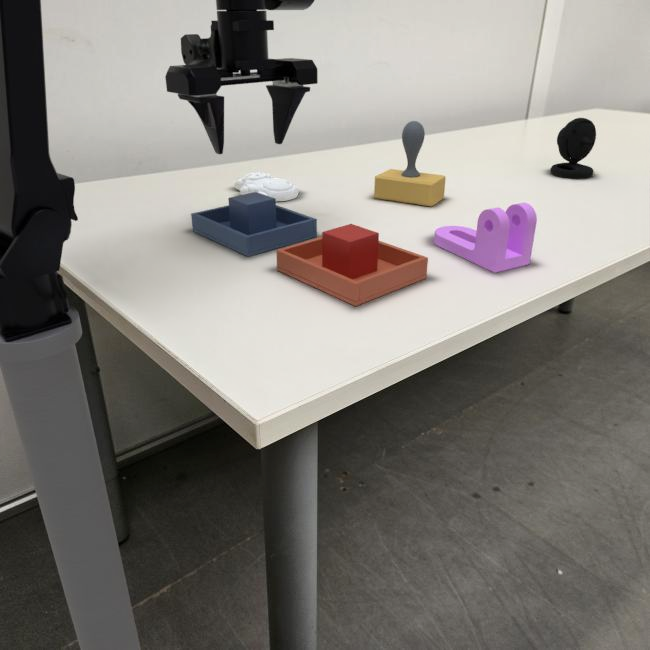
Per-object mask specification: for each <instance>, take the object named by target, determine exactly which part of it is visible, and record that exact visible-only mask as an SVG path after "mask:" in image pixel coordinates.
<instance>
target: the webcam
mask: <svg viewBox="0 0 650 650" xmlns="http://www.w3.org/2000/svg"><path fill="white" fill-rule="evenodd" d="M596 139H597V129H596V126H595V124H594V122H593V121H592V120H590V119H588V118H586V117H585V118H584V117H577V118H574V119H572V120H571V121H568V122H567V123H566V125H565V126H564V127H562V128H561V129H560V131H559V132H558V134H557V137H556V144H557V148H558V153H559V155H560V157H561V158H562V159H563V160H565V161H567V162H560V163H555V164H553V165H551V167H550V173H551V174H552V175H554V176H556V177H560V178H565V179H585V178H587V179H588V178H590V177H592V176H593V175H594V169H593V167H592V166H589V165H585V164H582V163H579V162H581V161H582V160H584V159H585V158H586V157H587V156H588V155H589V154H590V153H591V151H592V150H593V148H594V145H595V143H596Z"/></svg>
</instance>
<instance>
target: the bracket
mask: <svg viewBox="0 0 650 650" xmlns="http://www.w3.org/2000/svg"><path fill="white" fill-rule="evenodd" d="M537 219H538V218H537V213H536V210H535V209H534V207H533V205H531V204H530V203H527V202H520V203H514V204H511V205H509V206H508V207H507V208H506V210H504V209H503V208H500V207H492V208H487V209H483V210H482V211H481V212H480V214H479V215H478V218H477V223H476V224H477V225H476V229H473V228H472V227H471V228H470V227H467V226H461V225H446V226H445V225H443V226H439V227H437V228H435V230H434V237H433V243H434V245H436V246H437V247H439V248H441V249H443V250H446V251H447V252H450V253H452V254H453V255H456V256H458V257H460V258H462V259H465V260H467V261H469V262H471V263H473V264H475V265H477V266H479V267H480V268H481V267H482V268H483V269H486V270H487V271H488V272H489V271H490V272H492V273H494V274H496V273H500V272H504V271H508V270H512V269H516V268H520V267H524V266H527V265H528V266H529V265H530V264H531V260H532V259H531V258H532V253H533V247H534V240H535V234H536V227H537V222H538V220H537Z"/></svg>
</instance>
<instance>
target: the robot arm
mask: <svg viewBox="0 0 650 650" xmlns="http://www.w3.org/2000/svg"><path fill="white" fill-rule="evenodd" d="M314 2H315V0H215V6H216V20H210V21H211V22H210V23H211V24H210V36H209V37H207V38H205V37H204V38H201V36H200V35H199V34H198V33H189V34H187V33H186V34H184V35H183V36H182V37H181V38H180V52H181V53H180V54H181V57H182V60H183V63H184V64H180V65H170V66H169V67H168V69H167V71H166V74H165V76H164V77H165V78H164V79H165V87H166V92H167V93H173V94H177V96H178V97H177V98H178V99H179V100H181V101H187V102H188V104H190V105H191V107H192V108H193V109H194V111H195V112H196V114H197V115H198V118H199V119H200V121H201V123H202V125H203V128H204V130H205V132H206V135H207V137H208V140H209V141H210V143H211V146H212V148H213V150H214V152H215V154H217V155H223V154H224V146H225V96H224V95H217V93H218V92H219V91H220V89H221V87H223V86H225V87H226V86H234V85H246V84H255V83H256V84H257V83H268V82H272V84H266V85H265V87H266V88H265V89H266V90H267V93H268V94H269V97H270V98H271V106H272V109H271V110H272V129H273V139H274V143H275V144H276V145H282V144H283V142H284V140H285V137H286V136H287V133H288V131H289V128H290V125H291V123H292V121H293V119H294V117H295V115H296V112H297V110H298V108H299V106H300V105H301V102H302V100H303V99H304V96H305V95H306V93H309V92H311V87H310V86H309V85H317V84H318V83H319V79H318V78H319V76H318V75H319V73H318V67H317V65H316V63H315V61H314V60H313V59H307V58H306V59H305V58H296V57H295V58H294V57H287V58H269V40H268V38H269V37H268V31H274V30H275V22H274V19H273V20H272V19H271V20H268V18H267V17H268V15H267V14H268V13H267V11H304V10H308V9H309V8H310V7H311V6H312V5H313V3H314ZM43 31H44V30H43V16H42V0H0V336H1V338H2V339H3V340H4V341H5V342H12V341H16V340H19V339H22V338H26V337H29V336H32V335H35V334H39V333H42V332H45V331H49V330H52V329H55V328H59V327H62V326H65V325H68V324H71V323H72V318H71V317H70V316H69V315H67V314H66V312H68V311H69V300H68V295H67V291H66V287H65V281H64V277H63V275H62V274H61V273H60V272H59V271H60V268H61V263H62V262H61V261H62V255H63V247H64V243H65V242H66V241H68V240H69V239H70V237H71V236H70V235H71V233H72V221H75V222H77V221H78V220H79V218H78V217H79V216H78V215H77V213H76V210H75V205H74V203H75V193H76V192H75V191H76V185H75V178H73V177H71V176H68V175H65V174H63V173H58V172H57V170H56V168H55V165H54V164H53V161H52V159H51V154H50V142H49V141H50V140H49V125H48V123H49V122H48V107H47V106H48V105H47V89H46V86H47V85H46V70H45V69H46V67H45V54H44V53H45V51H44V49H45V48H44V34H43ZM306 85H307V86H306Z"/></svg>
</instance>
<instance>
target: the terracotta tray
mask: <svg viewBox="0 0 650 650" xmlns="http://www.w3.org/2000/svg"><path fill="white" fill-rule="evenodd" d="M275 250H276V251H275V253H276V270H277V271H278V272H280V273H283V274H285V275H287V276H289V277H291V278H293V279H295V280H298V281H299V282H302V283H304V284H306V285H308V286H310V287H313V288H315V289H317V290H319V291H321V292H324V293H326V294H327V295H330V296H332V297H334V298H337V299H338V300H341V301H343V302H344V303H348V304H350V305H352V306H354V307H357V306H360V305H362V304H365V303H367V302H370V301H372V300H376V299H377V298H380V297H382V296H385V295H388V294H390V293H392V292H393V293H394V292H395V291H398V290H401V289H402V288H405V287H407V286H410V285H412V284H415V283H418V282H420V281H423V280H426V279H427V277H428V263H429V256H428V257H427V256H425V255H421V254H419V253H416V252H413V251H410V250H407V249H404V248H401V247H399V246H396V245H393V244H390V243H387V242H385V241H382V240H379V242H378V266H377V271H375V272H372V273H369V274H366V275H363V276H361V277H358V278H355V279H350V278H348V277H345V276H343V275H341V274H338V273H336V272H333V271H331V270H329V269H326V268H324V267H322V236H320V237H315V238H312V239H308V240H305V241H301V242H298V243H294V244H291V245H287V246H284V247H281V248H277V249H275Z"/></svg>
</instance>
